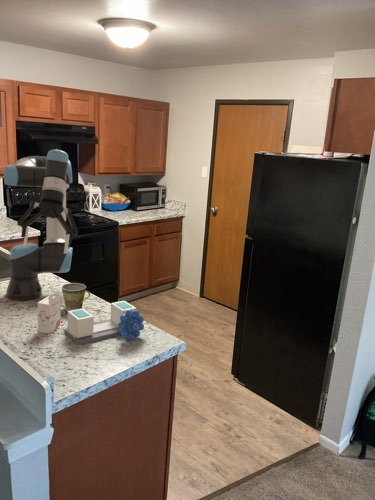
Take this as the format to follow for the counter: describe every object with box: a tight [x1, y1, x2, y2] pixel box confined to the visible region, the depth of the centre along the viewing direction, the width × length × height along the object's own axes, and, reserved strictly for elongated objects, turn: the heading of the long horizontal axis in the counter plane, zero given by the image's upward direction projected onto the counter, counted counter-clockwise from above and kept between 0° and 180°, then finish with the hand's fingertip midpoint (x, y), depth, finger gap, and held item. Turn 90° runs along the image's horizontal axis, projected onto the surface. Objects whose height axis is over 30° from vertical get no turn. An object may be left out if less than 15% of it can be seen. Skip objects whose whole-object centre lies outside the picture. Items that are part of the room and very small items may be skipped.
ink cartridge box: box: [37, 290, 61, 334], centre depth 158 cm, size 9×5×15 cm, turn 168°
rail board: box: [63, 300, 137, 346], centre depth 160 cm, size 12×25×9 cm, turn 129°
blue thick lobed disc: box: [118, 309, 145, 341], centre depth 154 cm, size 12×7×12 cm, turn 133°
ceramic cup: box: [61, 282, 91, 312], centre depth 179 cm, size 13×10×10 cm
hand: (45, 250), depth 145 cm, fingers open, 13 cm apart
